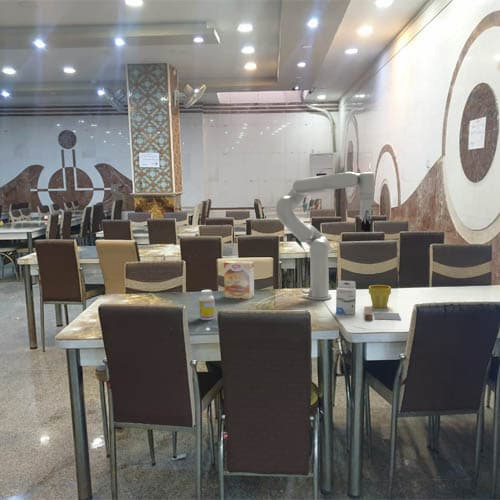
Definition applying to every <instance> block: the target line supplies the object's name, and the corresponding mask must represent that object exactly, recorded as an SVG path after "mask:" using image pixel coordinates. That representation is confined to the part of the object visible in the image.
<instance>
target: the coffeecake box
mask: <svg viewBox="0 0 500 500" xmlns="http://www.w3.org/2000/svg"><path fill="white" fill-rule="evenodd" d="M254 265H255V263H254V261H244V260H243V261H242V260H227V261H224V262H223V281H224V285H223V286H224V288H223V289H224V298H226V299H227V298H229V299H240V298H242V299H243V300H251V299H253V298H254V297H255V272H254V271H255V269H254V268H255V267H254ZM253 296H254V297H253ZM252 297H253V298H252ZM250 298H251V299H250Z"/></svg>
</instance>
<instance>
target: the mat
mask: <svg viewBox="0 0 500 500" xmlns="http://www.w3.org/2000/svg"><path fill="white" fill-rule="evenodd" d="M373 316H374V317H373V318H374V320H377V321H379V320H380V321H381V320H383V321H384V320H386V321H402V318H401V316H400V313H398V312H397V313H395V312H373Z"/></svg>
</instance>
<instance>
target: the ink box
mask: <svg viewBox="0 0 500 500" xmlns="http://www.w3.org/2000/svg"><path fill="white" fill-rule="evenodd" d="M346 283H347V284H346ZM356 286H357V285H356V281H354V280H340V279H339V280H338V281H337V287H336V288H335V290H336V295H335V296H336V297H335V298H336V299H335V300H336V301H335V303H336V304H335V307H336V308H335V313H336V314H340V315H352V316H353V315H355V314H356V304H357V303H356V302H357V299H356V298H357V297H356V296H357V295H356V294H357V288H356Z"/></svg>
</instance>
